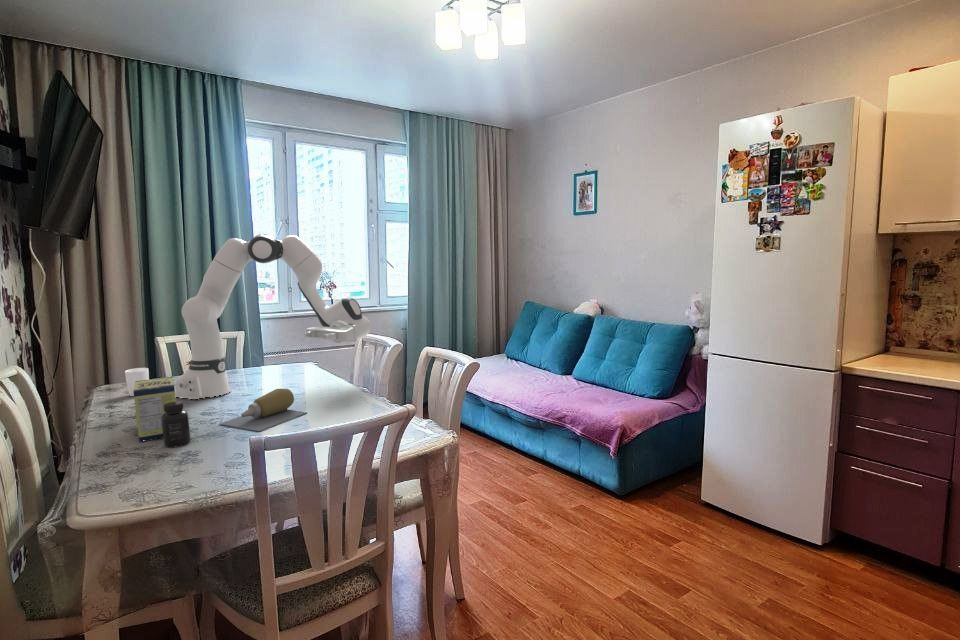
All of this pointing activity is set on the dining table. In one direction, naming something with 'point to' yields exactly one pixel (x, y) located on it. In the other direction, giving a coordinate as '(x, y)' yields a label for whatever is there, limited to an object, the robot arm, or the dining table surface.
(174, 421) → the supplement bottle
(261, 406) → the squeeze bottle
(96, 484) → the dining table surface
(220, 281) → the robot arm
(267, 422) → the mat
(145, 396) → the protein box
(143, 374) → the white cup
